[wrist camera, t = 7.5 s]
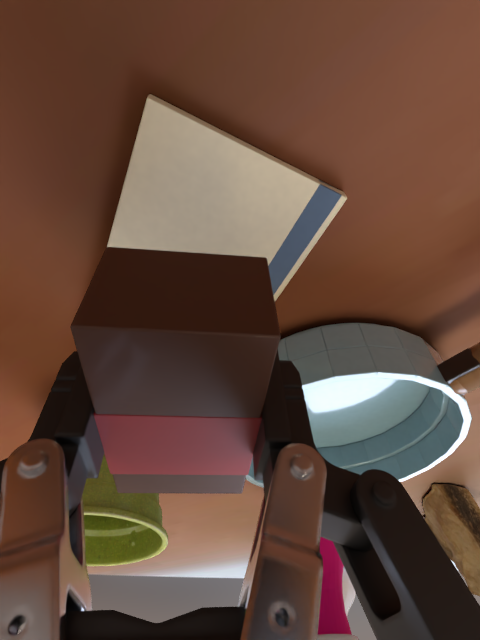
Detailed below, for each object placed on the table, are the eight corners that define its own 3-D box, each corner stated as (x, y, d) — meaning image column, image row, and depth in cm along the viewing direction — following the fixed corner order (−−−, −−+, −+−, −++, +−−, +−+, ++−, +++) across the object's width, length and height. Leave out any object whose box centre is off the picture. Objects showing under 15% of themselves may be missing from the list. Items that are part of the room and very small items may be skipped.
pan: (296, 283, 20) (309, 338, 17) (490, 359, 25) (528, 412, 22) (194, 425, 29) (191, 477, 26) (350, 459, 34) (363, 507, 31)
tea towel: (149, 93, 14) (147, 96, 13) (344, 192, 16) (348, 198, 16) (77, 356, 23) (75, 363, 23) (208, 390, 26) (208, 397, 25)
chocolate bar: (104, 245, 10) (66, 326, 7) (269, 256, 10) (283, 337, 8) (132, 414, 15) (115, 494, 13) (240, 417, 15) (243, 495, 13)
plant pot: (63, 362, 23) (3, 502, 17) (198, 398, 27) (191, 528, 20) (43, 432, 29) (-8, 558, 22) (157, 455, 32) (140, 571, 26)
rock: (460, 544, 45) (535, 529, 38) (447, 613, 39) (531, 612, 32) (389, 481, 47) (447, 455, 40) (366, 538, 41) (429, 520, 34)
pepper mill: (333, 488, 38) (403, 804, 23) (265, 494, 39) (291, 807, 24) (336, 455, 33) (428, 828, 18) (258, 462, 34) (286, 832, 19)
